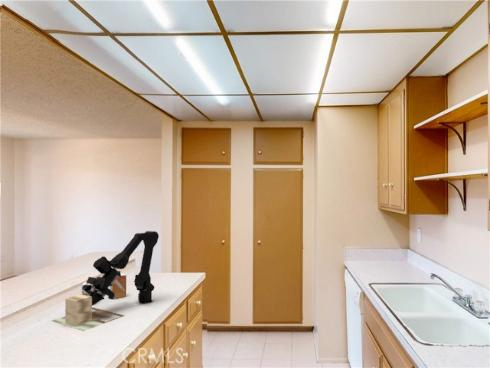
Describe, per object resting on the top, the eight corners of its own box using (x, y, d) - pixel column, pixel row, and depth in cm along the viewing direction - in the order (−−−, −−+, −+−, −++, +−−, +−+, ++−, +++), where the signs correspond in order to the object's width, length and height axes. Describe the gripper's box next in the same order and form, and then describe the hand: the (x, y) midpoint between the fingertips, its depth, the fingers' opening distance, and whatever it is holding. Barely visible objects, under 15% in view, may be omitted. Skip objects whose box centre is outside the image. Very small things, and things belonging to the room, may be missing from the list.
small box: (112, 299, 199) (112, 276, 199) (109, 296, 204) (109, 274, 205) (126, 297, 203) (126, 274, 204) (123, 294, 209) (123, 272, 209)
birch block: (81, 317, 165) (81, 294, 165) (91, 320, 161) (91, 296, 161) (65, 322, 158) (65, 298, 159) (75, 325, 154) (75, 301, 154)
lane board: (93, 310, 180) (93, 307, 180) (125, 318, 167) (125, 315, 167) (51, 324, 161) (51, 320, 161) (83, 334, 148) (83, 331, 148)
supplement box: (81, 308, 183) (81, 284, 183) (83, 304, 190) (83, 281, 190) (96, 307, 185) (96, 283, 185) (98, 303, 192) (98, 280, 192)
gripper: (85, 268, 173) (64, 295, 164) (109, 271, 164) (88, 301, 154) (99, 280, 180) (79, 307, 170) (123, 284, 170) (103, 314, 160)
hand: (87, 307), depth 163 cm, fingers closed
